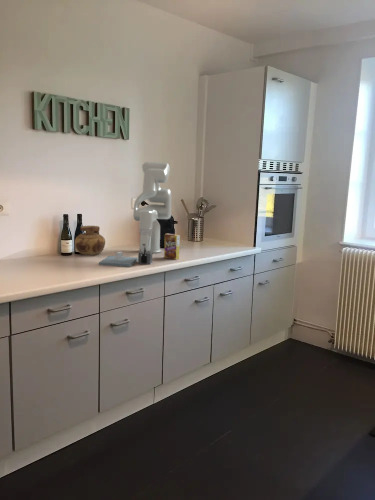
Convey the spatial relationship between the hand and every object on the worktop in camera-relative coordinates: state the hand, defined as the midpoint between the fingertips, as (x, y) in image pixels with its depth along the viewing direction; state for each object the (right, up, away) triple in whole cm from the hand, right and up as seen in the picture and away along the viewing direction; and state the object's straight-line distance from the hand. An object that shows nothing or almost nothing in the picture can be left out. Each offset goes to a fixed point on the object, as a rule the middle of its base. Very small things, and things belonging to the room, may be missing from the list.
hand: (145, 261), depth 258 cm
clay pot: (-37, +4, +20) cm, 42 cm away
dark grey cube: (0, -1, 0) cm, 1 cm away
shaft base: (-15, -1, -1) cm, 15 cm away
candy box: (+15, +1, +17) cm, 22 cm away
